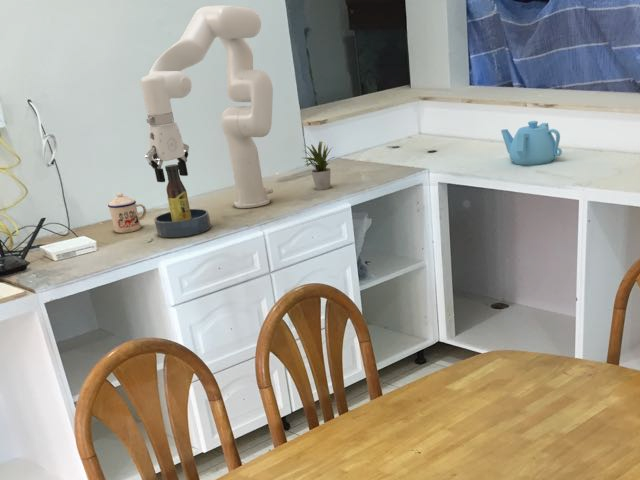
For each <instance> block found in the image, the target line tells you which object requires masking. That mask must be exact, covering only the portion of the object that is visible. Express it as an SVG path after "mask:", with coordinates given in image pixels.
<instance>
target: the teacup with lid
mask: <svg viewBox="0 0 640 480" xmlns="http://www.w3.org/2000/svg"><path fill="white" fill-rule="evenodd" d="M107 207H108V209H109V213H110V218H111V220H112V221H111V222H112V225H113V229H114V231H115V232H116V233H119V234H127V233H132V232H136V231H138V230H140V229H141V228H142V225H141V220H144V218H145V217H146V215H147V208H146V206H145V205H144V204H142V203H137V201H136V200H135V199H134V198H133V197H128V196H126V195H124V193H122V192H117V193H116V197H114V198H113V199H112V200H110V201H109V202H108V203H107ZM137 207H141V208H142V209H143V213H142V215H141V216H139V213H138V208H137Z"/></svg>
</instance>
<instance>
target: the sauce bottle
mask: <svg viewBox="0 0 640 480" xmlns="http://www.w3.org/2000/svg"><path fill="white" fill-rule="evenodd" d="M164 169H165V172H166V176H167V181H168V182H167V184H166V190H165V191H166V195H167V202H168V207H169V212H171V217H172V222H178V221H185V220H190V219H192V218H191V212H190V209H191V208H190V202H189V197H188V191H187V189H186V187H185V185H184V183H183V181H182V179H181V177H180V176H181V175H180V174H179V168H178V163H177V164H176V163H175V164H167V165H165V166H164Z"/></svg>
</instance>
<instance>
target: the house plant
mask: <svg viewBox="0 0 640 480" xmlns="http://www.w3.org/2000/svg"><path fill="white" fill-rule="evenodd" d="M323 143H324V142H323V141H321V140H320V141H319V142H318V146H317V149H316V148H315V146H314V145H313V144H311V148H310V147H309V146H308V145H304V144H303V146H305V147H306V148H307V149H308V150H309V151H306V150H304V149H303V152H305V153H306V154H307V155H308V156H305V157H302V159H304V160H305V166H306V167H307V168H308V167H309V166H310V165H311V166H312V167H313V168H314V169H312V170H311V171H310V172H311V176H312V179H313V183H314V186H315V190H316V191H317V190H320V191H322V190H323V191H324V190H327V189H328V190H329V189H330V188H331V171H332V170H331V168H328V167H327V166H328V165H330V162H329V161H330V160H331V159H332V158H335V156H332V157H330V158H329V159H328V160H327V157H328V155H329V153H330V152H331V150H332V148H333V147H331V148H330V149H329V148H328V146H329V144H327V145H326V144H324V146H323ZM322 147H323V150H322ZM328 149H329V150H328Z"/></svg>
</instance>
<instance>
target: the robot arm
mask: <svg viewBox="0 0 640 480" xmlns="http://www.w3.org/2000/svg"><path fill="white" fill-rule="evenodd" d="M261 27H262V22H261V18H260V14H258V12H257V11H256V10H255V9H254V8H252V7H250V6H249V7H248V6H236V5H228V4H227V5H226V4H225V5H224V4H222V5H221V4H220V5H208V6H202V7H200V8H198V9H197V10H196V11H195V13H194V14H193V16H192V18H191V19H190V21H189V22H188V25H187V27H186V28H185V30H184V32H183V33H182V35H181V37H180V39H179V40H178V41H177V42H175V43H174V44H172V46H170V47H169V48H168V49H166V50H165V51H164V52H162V53H161V54H160V55H159V56H158V57H157V59H155V61H154V63H153V64H152V67H151V68H150V70H149V71H148V74H147V75H144V76H142V77H141V78H140V85H141V90H142V95H143V96H142V97H143V99H144V104H145V110H146V115H147V118H146V123H147V124H149V126H148V139H149V146H150V147H149V148H150V149H149V151H148V152H147V153H146V154H145V155H144V158H145V160H146V161H147V162H148V165H150V166H151V168H152V169H153V170H154V174H155V178H156V181H157V183H166V178H165V173H164V169H163V168H162V166H163V163H164V162H169V161H173V160H177V161H178V162H177V165H178V168H179V170H178V171H179V176H181V177H187V176H189V173H188V172H189V171H188V167H187V162H188V157H189V150H190V146H189V145H188V144H186V143H185V142H183V138H182V134H181V132H180V129H179V126H178V123H177V122H175V119H174V114H173V110H172V109H173V108H172V104H171V99H183V98H185V97H188V95H190V93H191V91H192V87H193V86H192V80H191V79H190V78H191V77H189V75H188V74H187V73H186V72H183V70H185V69H188V68H190V67H193V66H195V65H197V64H198V63H200V62H202V61H203V60H204V59H205V57H206V56H207V53H208V51H209V49H210V48H211V46H212V44H213V43H214V41H215V39H216V38H218V39H219V40H220V42H221V44H222V45H223V47H224V49H225V54H226V94H227V96H228V98H229V99H230V100H231V101H232V102H236V103H250V104H251V105H234V106H230V107H227V108H226V109H224V111H222V115H221V116H220V123H221V128H222V131H223V133H224V136H225V139H226V142H227V147H228V150H229V151H228V152H229V157H230V161H231V168H232V173H233V179H234V184H235V191H236V196H237V197H236V198H237V200H235V201H234V202H233V205H234V207H235V208H238V209H252V208H259V207H263V206H266V205H268V204H270V203H271V199H270V197H268V195H270V194H272V193H273V192H274V188H273V187H271V186H270V187H267V188H266V187H264V183H263V182H264V181H263V177H262V169H261V164H260V163H261V162H260V157H259V151H258V148H257V145H256V143H255V141H254V139H253V138H264V137H266V136H268V134H269V133H270V132H271V129H272V124H273V122H272V121H273V101H274V100H273V97H274V88H273V83H272V80H271V78H270V75H269V74H268V73H266V72H265V71H264V70H261V69H254V55H253V51H252V48H251V46H250V45H249V43H248V42H247V40H246V39H251V38H255V37H256V36H258V34H259V33H260V31H261Z"/></svg>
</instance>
